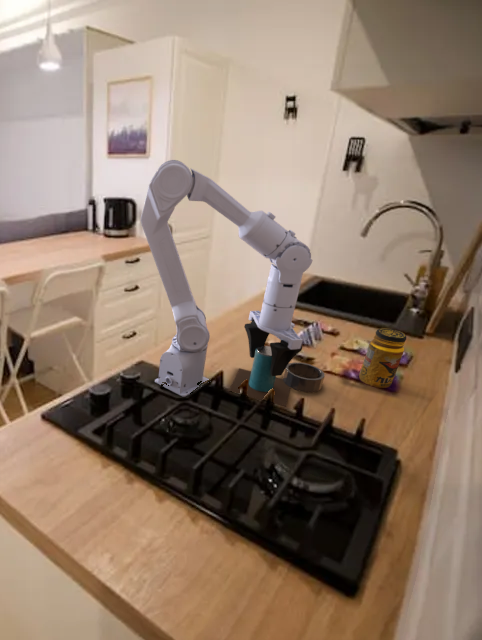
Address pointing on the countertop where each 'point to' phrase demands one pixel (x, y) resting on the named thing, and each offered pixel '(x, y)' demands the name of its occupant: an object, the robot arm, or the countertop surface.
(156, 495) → the countertop surface
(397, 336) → the condiment
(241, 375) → the coaster
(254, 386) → the can
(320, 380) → the ring
